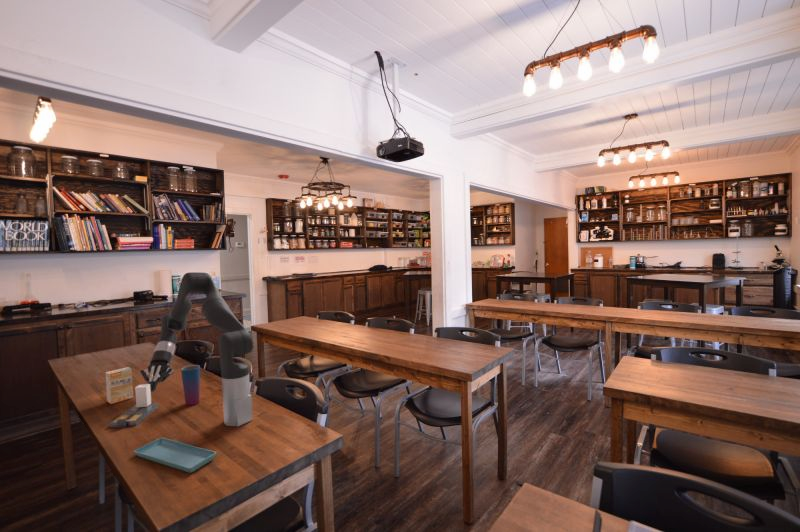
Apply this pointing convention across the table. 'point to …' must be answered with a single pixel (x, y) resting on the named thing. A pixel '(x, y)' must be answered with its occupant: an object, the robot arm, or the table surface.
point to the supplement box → (119, 385)
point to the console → (133, 416)
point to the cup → (191, 384)
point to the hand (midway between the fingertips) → (150, 391)
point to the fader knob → (143, 395)
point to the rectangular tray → (175, 454)
